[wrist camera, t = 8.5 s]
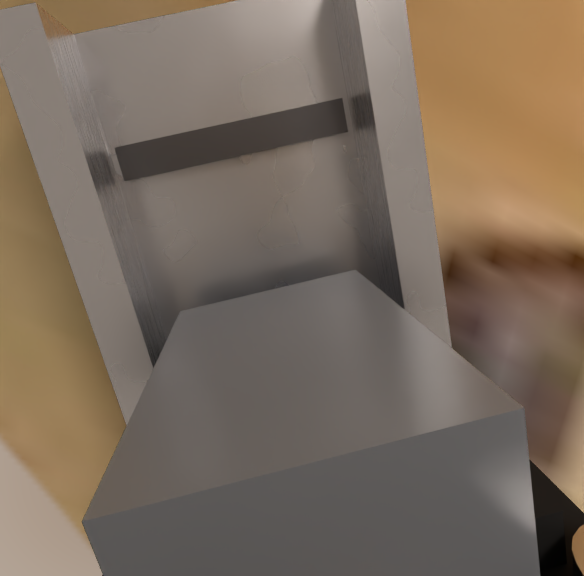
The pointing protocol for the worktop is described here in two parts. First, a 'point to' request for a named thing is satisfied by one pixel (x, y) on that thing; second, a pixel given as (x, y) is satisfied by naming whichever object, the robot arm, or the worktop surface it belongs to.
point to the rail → (226, 160)
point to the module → (316, 448)
